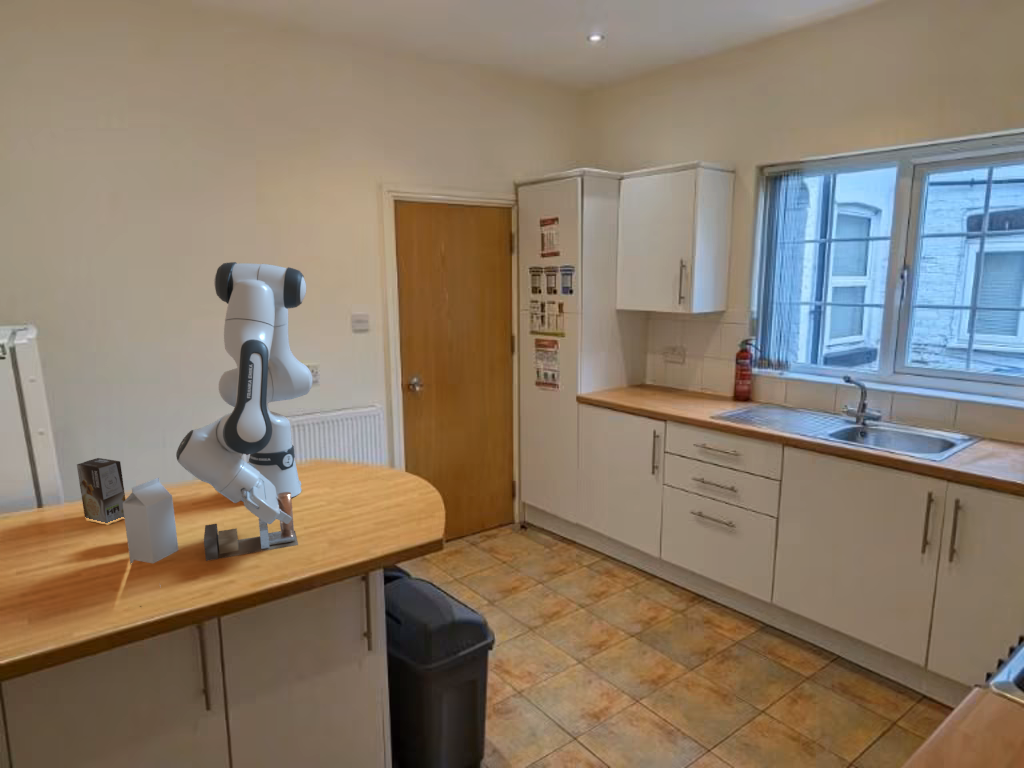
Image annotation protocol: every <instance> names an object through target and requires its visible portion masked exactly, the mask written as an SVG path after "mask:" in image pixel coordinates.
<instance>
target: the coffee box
mask: <svg viewBox="0 0 1024 768" xmlns="http://www.w3.org/2000/svg"><path fill="white" fill-rule="evenodd" d="M76 468H77V475H78V481H79V488H80V493H81V500H82V501H81V502H82V507H83V515H84V518H85V517H86V518H89V519H93V520H97V521H101V522H105V523H108V522H110V521H113V520H116V519H118V518H121V517H124V511H123V502H124V501H125V500H126V494H125V487H124V479H123V471H122V465H121V461H120V460H113V459H107V458H100V457H96V458H92V459H90V460H86V461H83V462H81V463H78V464H76Z"/></svg>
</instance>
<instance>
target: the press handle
mask: <svg viewBox="0 0 1024 768" xmlns="http://www.w3.org/2000/svg"><path fill="white" fill-rule="evenodd" d="M292 500H293V499H292V498H291V493H290V492H283V493H279V494H278V503H279V509H281V511H283V512H284V513H287V514H289V515H290V516H291V518H292V520H291V521H290V522H289V524H286V523H284V522H283V521H280V520H279V525H280V531H274V532H269V527H268V524H267V523H265V522H264V521H262V520H261V519H259V518H258V524H259V525H258V528H259V536H260V540H261V549H265V548H270V546H269V545H273V544H279V543H285V542H291V541H295V535H294V531H295V527H294V526H295V525H294V514H293V503H292V502H293V501H292Z"/></svg>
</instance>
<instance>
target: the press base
mask: <svg viewBox="0 0 1024 768" xmlns="http://www.w3.org/2000/svg"><path fill="white" fill-rule="evenodd" d="M218 531H219V530H218V524H217V523H211V524H206V525H205V526H204V534H203V535H204V536H203V547H204V554H205V562H208V561H214V560H219V559H223V558H224V559H225V558H230V557H236V556H242V555H247V554H254V553H260V552H266V551H271V550H277V549H282V548H283V549H284V548H288V547H295V546H299V542H298V538H297V533H296V530H294V535H295V541H291V542H285V543H279V544H273V545H269V546H270V548H265V549H261V540H260V535H259V536H254V537H253V536H252V537H248V538H247V537H246V538H241V539H238V551H234V552H228V553H222V554H220V552H219V542H218Z"/></svg>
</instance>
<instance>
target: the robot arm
mask: <svg viewBox="0 0 1024 768" xmlns="http://www.w3.org/2000/svg"><path fill="white" fill-rule="evenodd" d="M213 281H214V283H213V284H214V285H213V286H214V290H215V294H216V296H217V297H218V298H219V300H221V301H222V302H225V303H226V304H227V308H226V312H225V319H224V326H223V327H224V328H223V339H224V340H223V341H224V342H223V344H224V348H225V351H226V353H227V354H228V355H229V356H230V357H231V358H232V359H233V360H234V362H235V364H236V368H234V369H233V368H232V369H229V370H227V371H224V372H223V374H222V375H221V376H220V378H219V381H218V392H219V394H220V397H221V398H222V400H223V401H224V402H225V403H226V404H228V405H229V406H231V407H234V408H233V410H232V412H230V413H227V414H225V415H223V416H221V417H220V418H218V419H216V420H215V421H213V422H212V423H210V424H207V425H205V426H202V427H199V428H196V429H191V430H190V431H188V432H187V434H186V435H185V437H183V438H182V440H181V442H180V444H179V446H178V447H177V450H176V460H177V462H178V463H179V465H180V466H182V468H184V469H185V470H186V472H188V473H190V474H191V475H192V476H193V477H195V478H197V479H198V480H200V481H201V482H203V483H207V484H209V485H210V486H212V488H214V490H215V491H216V492H217V493H219V494H221V495H222V496H223V497H225V498H226V499H228V501H231V502H233V504H237V503H239V502H240V501H241V502H243V506H244V507H245V508H246V510H247V511H248V512H250V513H251V514H253V515H254V516H256V517H257V518H258V520H259V519H261V520H262V521H264V522H265V523H267V525H272V524H273V523H274V522H275V521H276V520H277V521H279V522H280V521H283V522H284V523H286V524H289V522H290V521H291V520H292V518H291V516H290V515H289V514H287V513H284V512H283V511H281V509H279V503H278V494H279V493H283V492H290V493H291V499H292V498H294V497H296V496H298V495H299V494H301V492H302V483H301V480H300V478H299V473H298V468H297V464H296V460H295V457H296V456H295V453H296V451H295V447H294V445H293V440H292V439H293V438H292V437H293V436H292V425H291V421H290V420H289V419H288V418H287V416H285V415H283V414H281V413H278V412H274V411H271V410H270V408H269V403H273V402H281V401H286V400H287V401H290V400H294V399H297V398H299V397H303V396H305V395H308V394H309V393H310V391H311V389H312V386H313V381H314V379H313V374H312V372H311V370H310V369H309V367H308V366H307V365H306V364H305V363H303V362H301V361H300V360H298V359H297V357H296V356H295V355H294V354H293V352H292V350H291V347H290V346H291V345H290V339H289V337H290V335H289V309H294V308H298V307H299V306H300V305H302V304H303V301H304V299H305V297H306V294H307V293H306V292H307V283H306V281H305V276H304V274H303V273H302V272H301V270H299V269H296V268H293V267H289V266H288V267H283V266H281V265H280V266H279V265H276V264H275V265H273V264H267V263H261V264H260V263H251V262H250V263H248V262H247V263H245V262H244V263H241V262H239V263H237V262H236V261H231V262H224V263H222V264H220V265H219V266H218V268H217V269H216V273H215V275H214V280H213ZM243 455H246V456H249V458H248V461H245V460H244V459H242V457H243Z"/></svg>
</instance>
